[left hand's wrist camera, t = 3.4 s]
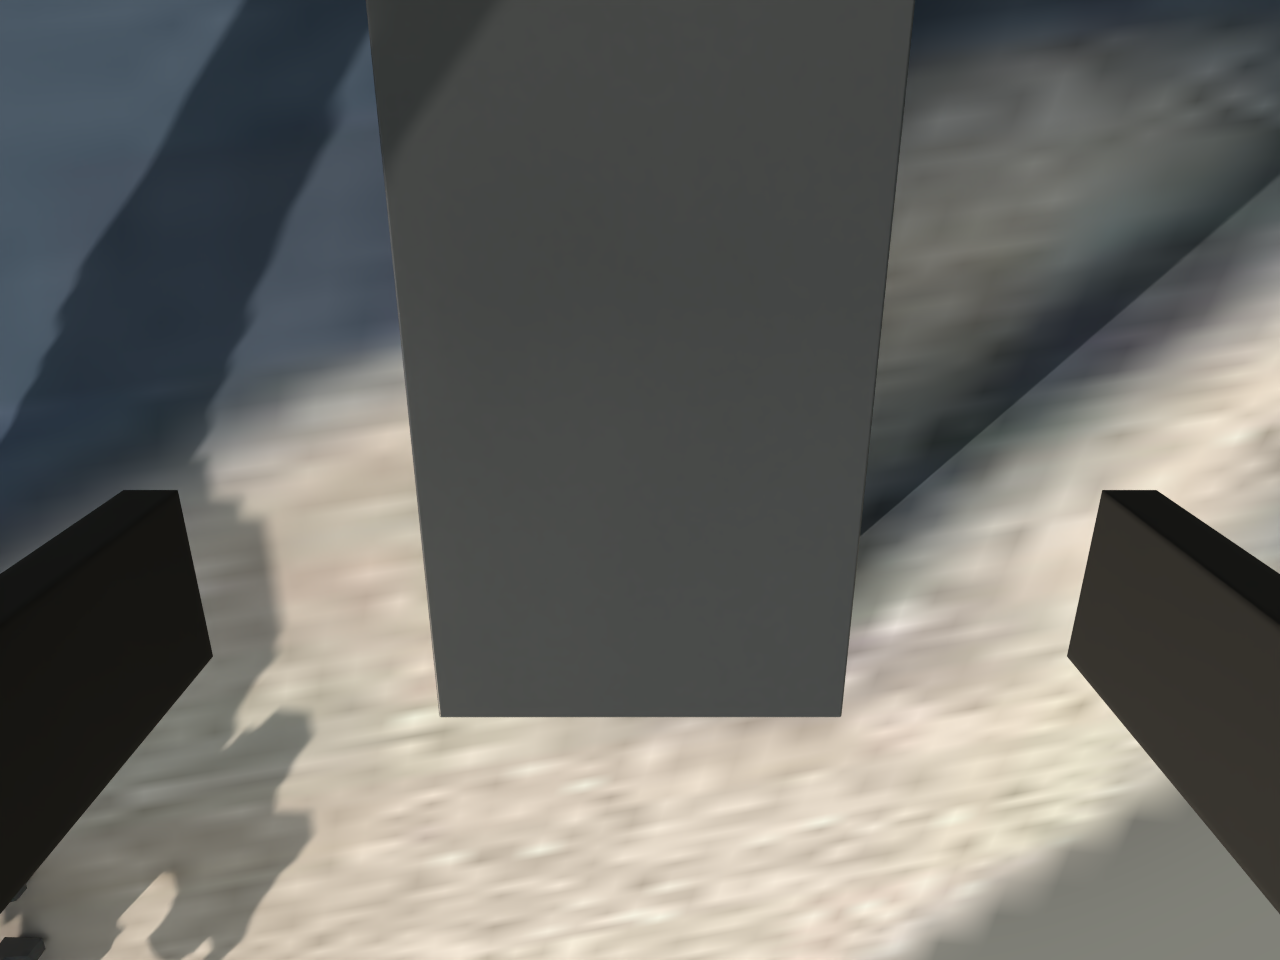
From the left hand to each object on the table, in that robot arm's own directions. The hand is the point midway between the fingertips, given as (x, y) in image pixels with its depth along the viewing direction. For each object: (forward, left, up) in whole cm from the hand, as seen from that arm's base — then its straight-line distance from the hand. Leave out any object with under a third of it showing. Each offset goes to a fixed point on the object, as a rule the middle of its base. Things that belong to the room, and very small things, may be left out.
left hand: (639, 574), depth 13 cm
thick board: (+2, +18, -14) cm, 23 cm away
